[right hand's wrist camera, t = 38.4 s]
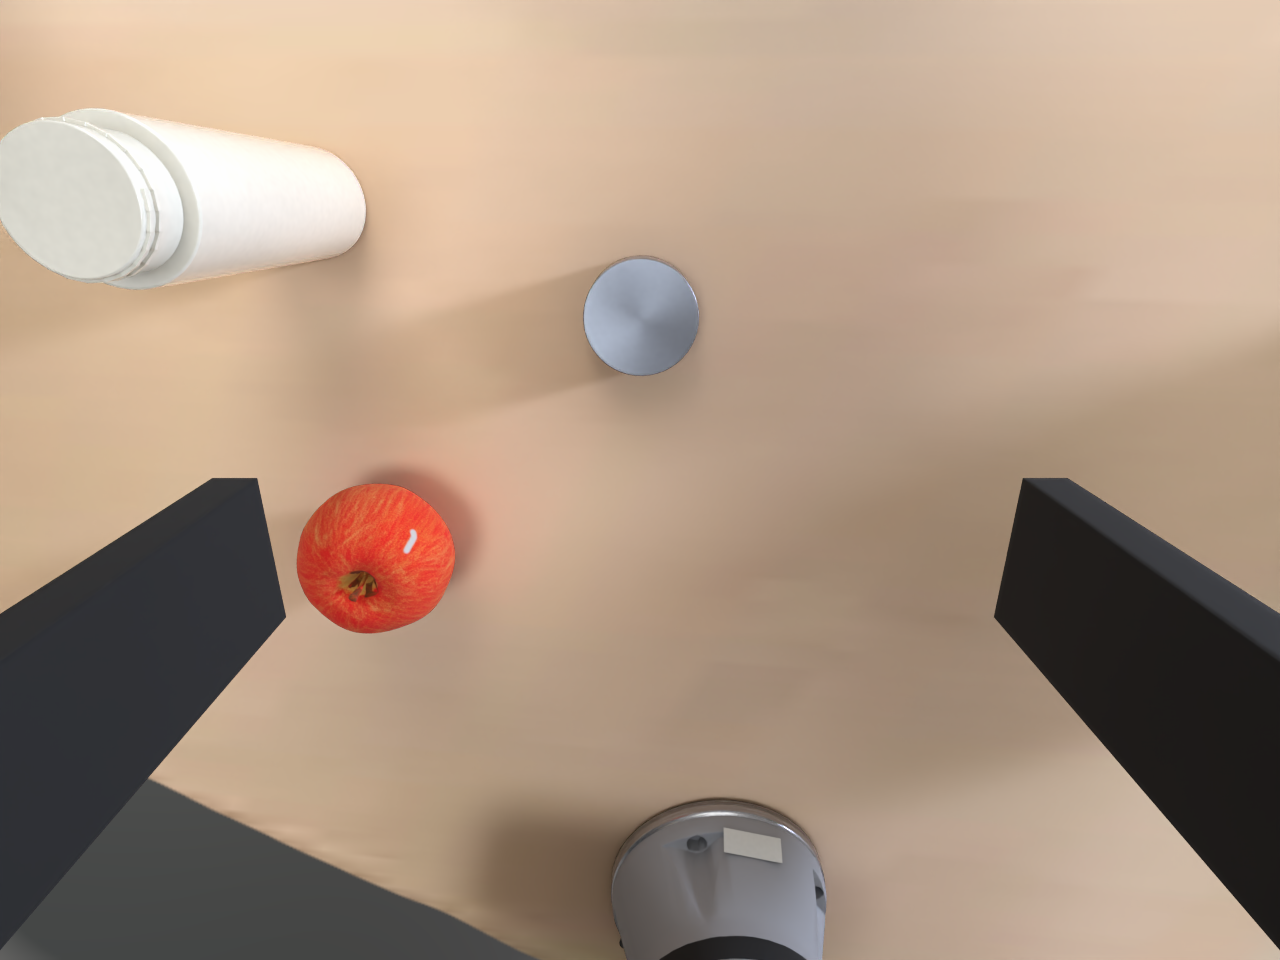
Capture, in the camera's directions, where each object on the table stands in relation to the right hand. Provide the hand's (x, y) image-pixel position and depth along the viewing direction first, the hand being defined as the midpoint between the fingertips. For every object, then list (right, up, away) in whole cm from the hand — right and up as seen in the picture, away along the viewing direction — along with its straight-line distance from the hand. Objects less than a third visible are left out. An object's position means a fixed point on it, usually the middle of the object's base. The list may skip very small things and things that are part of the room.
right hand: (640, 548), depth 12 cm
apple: (-14, -2, +29) cm, 33 cm away
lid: (0, +9, +23) cm, 25 cm away
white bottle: (-16, +15, +23) cm, 32 cm away
